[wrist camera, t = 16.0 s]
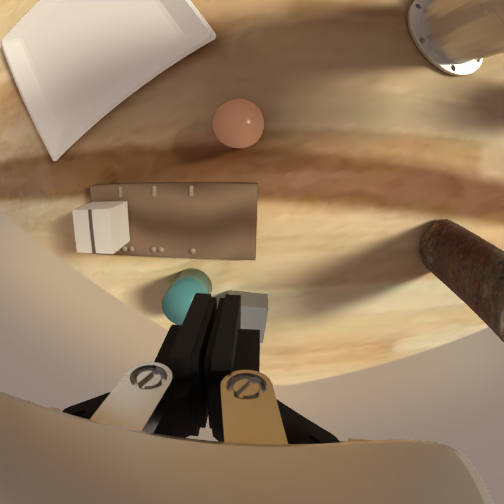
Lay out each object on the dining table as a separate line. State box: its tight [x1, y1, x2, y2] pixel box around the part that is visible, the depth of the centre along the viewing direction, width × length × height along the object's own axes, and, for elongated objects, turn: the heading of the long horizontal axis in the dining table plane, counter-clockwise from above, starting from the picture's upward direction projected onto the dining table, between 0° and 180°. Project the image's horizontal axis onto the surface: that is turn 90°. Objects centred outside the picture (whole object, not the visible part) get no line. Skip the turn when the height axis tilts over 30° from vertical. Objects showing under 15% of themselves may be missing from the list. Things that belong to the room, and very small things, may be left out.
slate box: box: [228, 290, 268, 343], centre depth 40 cm, size 5×5×4 cm
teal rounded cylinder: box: [162, 268, 212, 325], centre depth 38 cm, size 5×5×6 cm
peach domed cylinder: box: [212, 99, 264, 149], centre depth 32 cm, size 5×5×6 cm
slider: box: [72, 201, 130, 254], centre depth 34 cm, size 5×5×5 cm
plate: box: [1, 0, 216, 161], centre depth 30 cm, size 26×26×2 cm
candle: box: [420, 219, 504, 342], centre depth 29 cm, size 8×7×20 cm
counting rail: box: [90, 182, 258, 260], centre depth 37 cm, size 9×21×2 cm, turn 89°
